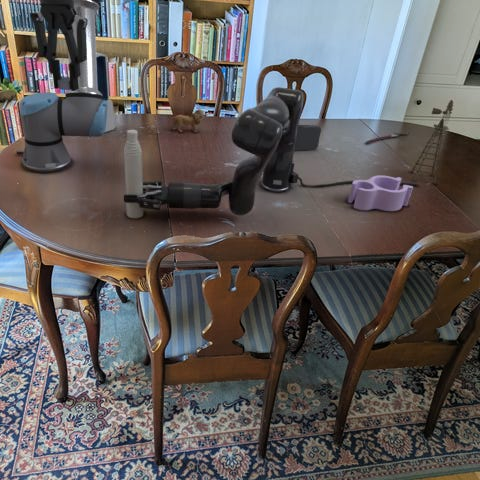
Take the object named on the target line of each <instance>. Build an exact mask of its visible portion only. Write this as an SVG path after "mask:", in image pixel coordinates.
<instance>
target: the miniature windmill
mask: <svg viewBox="0 0 480 480" xmlns="http://www.w3.org/2000/svg"><path fill="white" fill-rule="evenodd" d="M453 107H454V101H453V100H452V99H450V100H449V102H448V103H447V106H446V109H445V110H441V108H437V107H432V111H431V115H440V114H442V115H443V116H442V118H441V119H440V121H439V123H438V124H433V127H434V130H433V131H432V134H431V136H430V138H429V140H428V141H427V142H426V145H425V147H423V150H422V151H421V152H420V155H419V157H417V160H416V161H415V163H414V166H413V168H412V169H411V171H410V172H411V173H414V170H415V171H416V173H415V175H414V176H413V179H412V180H413V181H416V179H417V177H418V175H419V173H423V174H429V175H430V176H432V177H433V176H434V181H433V184H434V185H435V184H436V183H437V178H438V176H439V173H438V170H439V162H440V154H441V150H442V138H443V132H444V131H449V130H450V128H449V127H448V126H447V124H448V123H449V120H450V118H451V115H452V113H453V110H454V108H453ZM436 137H438V138H437V139H438V140H437V142H434V141H435V139H436ZM433 144H434V145H436V146H433ZM431 148H433V149H435V153H432V152H430V149H431ZM427 155H432V156H434V158H432V157H427ZM421 159H422V160H421ZM420 160H421V161H420ZM425 160H430V161H433V163H432V165H428V164H424V162H425ZM435 165H436V166H435ZM418 166H419V167H418ZM422 167H429V168H432V169H431V172H429V171H422V170H421V169H422Z"/></svg>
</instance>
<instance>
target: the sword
mask: <svg viewBox="0 0 480 480" xmlns="http://www.w3.org/2000/svg"><path fill="white" fill-rule="evenodd" d="M402 133H403V132H400V133H397V132H395V133H393V134H389V135H384V136H381V137H375V138H373V139H369V140H367V141H366V142H365V145H368V144H371V143H374V142H377V141H381V140H385V139H389V138H394V137H400V136H403V135H404V136H405V134H402ZM409 134H410V132H408V134H407V135H409Z"/></svg>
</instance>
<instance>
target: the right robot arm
mask: <svg viewBox="0 0 480 480" xmlns="http://www.w3.org/2000/svg"><path fill="white" fill-rule="evenodd" d="M303 104H304V93H303V92H302V90H299V89H292V88H286V87H280V86H279V87H278V86H277V87H274V88H272V89H271V90H270V92H269V93H268V95H267V97H266V98H265V99H263V100H262V101H260V102H259V103H258V104H257V105H256V106H254V107H250V108H247V109H245V110H244V111H243V112H242V113H241V114H240V115H239V116H238V117H237V119H236V120H235V121H234V124H233V126H232V130H231V141H232V143H233V144H234V145H235V146H236V147H237V148H239V149H241V150H242V151H245V152H247V153H249V154H251V155H253V156H251V157H248V158H246V159H244V160H242V161H240V163H239V164H238V165H237V166H236V168H235V170H234V173H233V176H232V180H230V181H225V182H220V183H215V184H208V183H207V184H205V183H194V182H176V181H175V182H172V181H170V182H168V184H167V186H164V185H163V181H161V180H155V181H143V195H138V196H137V195H126V194H124V195H123V203H125V204H126V203H138V204H139V207H140V208H143V209H148V210H155V211H160V210H161V207H162V206H163V205H167V207H168V209H177V210H178V209H179V210H180V209H181V210H183V209H184V210H193V209H218V208H220V206H221V202H222V198H223V197H225V196H228V207H229V208H228V209H229V210H230V211H231V213H232V214H234V215H236V216H241V217H243V216H246V215H248V214H249V213H251V212H252V211H253V209H254V206H255V198H256V197H255V196H256V189H257V188H258V185H259V182H260V179H261V183H260V184H261V187H262V188H263V189H264V190H267V191H269V192H273V193H283V192H286V191H288V189H290V188H291V187H292V185H294V184H298V180H299V182H300V185H301V186H302V187H304V188H320V187H329V186H336V185H344V184H352V183H353V181H354V180H346V181H337V182H333V183H327V184H325V183H324V184H323V183H322V184H315V185H307V184H304V182H303V179H302V178H301V177H299V174H298V173H297V172H296V171H294V170H295V169H294V168H295V161H294V154H295V150H294V149H295V143H296V136H297V130H298V125H300V124H299V123H300V118H301V114H302V110H303ZM261 177H262V178H261ZM400 185H402V186H403V185H409V186H413V187H414V186H415V187H417V186H418V185H419V183H414V182H413V183H412V182H411V183H410V182H402V181H401V182H400Z"/></svg>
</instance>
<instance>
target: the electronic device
mask: <svg viewBox="0 0 480 480" xmlns="http://www.w3.org/2000/svg"><path fill="white" fill-rule="evenodd" d="M96 60H97V86H98V91H99V92H100V93H101V94H102V95H103V100H105V101H107V104H108V107H107V122H106V128H105V132H104V133H106V132H111V131H113V130H114V129H115V127H116V116H115V110H114V102H113V100H112V99H110V88H109V87H110V86H109V71H108V70H109V69H108V55H107V54H105V53H100V52H97V51H96Z"/></svg>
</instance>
